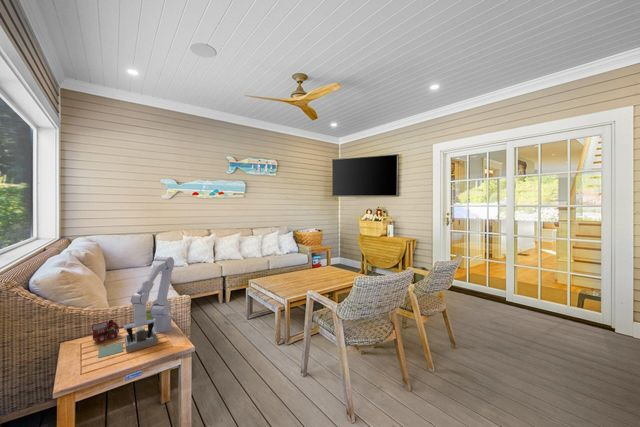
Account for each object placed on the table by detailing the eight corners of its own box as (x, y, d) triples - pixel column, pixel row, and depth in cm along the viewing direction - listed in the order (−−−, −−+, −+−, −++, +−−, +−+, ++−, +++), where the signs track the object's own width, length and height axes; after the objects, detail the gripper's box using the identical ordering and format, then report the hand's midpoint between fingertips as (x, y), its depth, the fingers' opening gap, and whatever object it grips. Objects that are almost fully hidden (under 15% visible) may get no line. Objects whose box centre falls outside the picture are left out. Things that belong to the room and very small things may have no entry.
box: (144, 338, 156) (143, 325, 156) (145, 344, 149) (145, 331, 149) (135, 340, 154) (135, 327, 153) (137, 346, 146) (136, 333, 146)
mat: (122, 343, 151) (122, 342, 151) (123, 352, 142) (123, 351, 142) (98, 349, 145) (98, 347, 145) (98, 359, 136) (98, 357, 136)
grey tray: (152, 332, 164) (152, 326, 164) (157, 347, 146) (157, 341, 146) (124, 338, 156) (124, 332, 156) (126, 356, 138) (126, 349, 138)
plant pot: (148, 329, 168) (148, 315, 168) (143, 324, 174) (142, 311, 174) (164, 324, 175) (164, 310, 175) (159, 320, 182) (158, 307, 181)
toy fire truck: (121, 337, 158) (120, 319, 158) (93, 345, 149) (93, 326, 148) (117, 333, 163) (116, 316, 162) (90, 341, 153) (89, 323, 153)
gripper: (124, 320, 143) (124, 346, 144) (156, 313, 152) (156, 338, 152) (123, 316, 149) (124, 341, 149) (154, 310, 158) (155, 333, 158)
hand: (140, 339), depth 151 cm, fingers open, 7 cm apart
